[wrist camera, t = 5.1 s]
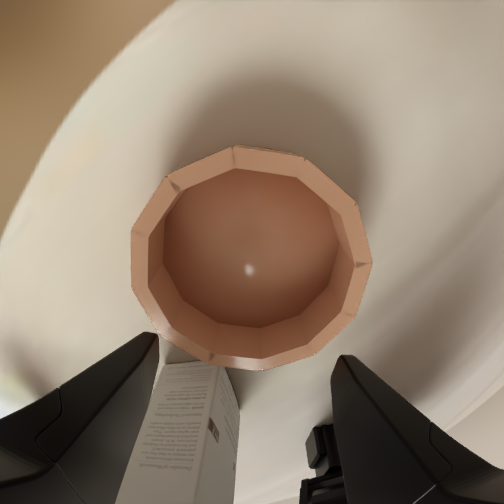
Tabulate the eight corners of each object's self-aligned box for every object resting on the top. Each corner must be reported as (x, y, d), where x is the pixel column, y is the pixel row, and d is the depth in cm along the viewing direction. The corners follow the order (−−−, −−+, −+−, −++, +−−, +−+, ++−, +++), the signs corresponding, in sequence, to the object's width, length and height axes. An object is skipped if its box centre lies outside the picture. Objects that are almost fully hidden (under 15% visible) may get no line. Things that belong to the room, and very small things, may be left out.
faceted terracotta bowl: (365, 167, 15) (394, 177, 11) (321, 337, 18) (333, 375, 15) (160, 136, 14) (135, 138, 11) (152, 316, 18) (135, 352, 15)
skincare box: (242, 412, 21) (237, 560, 10) (186, 416, 22) (162, 554, 10) (220, 353, 19) (199, 537, 8) (157, 360, 19) (103, 522, 8)
